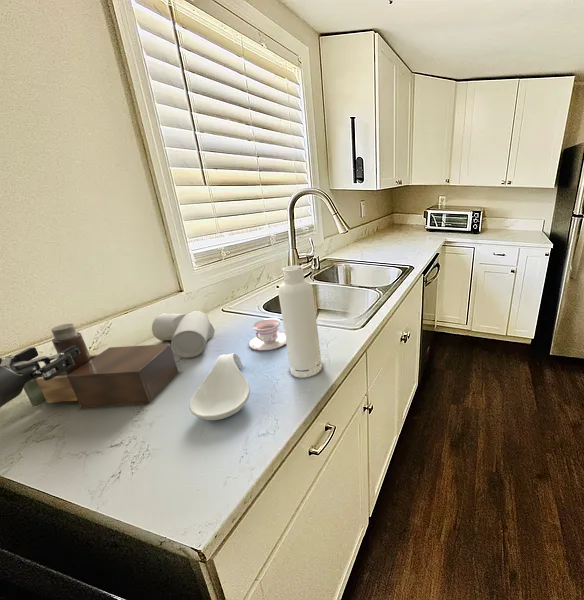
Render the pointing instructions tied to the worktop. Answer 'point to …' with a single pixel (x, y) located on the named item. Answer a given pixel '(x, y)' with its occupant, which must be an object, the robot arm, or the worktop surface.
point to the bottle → (299, 322)
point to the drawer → (50, 389)
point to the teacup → (267, 335)
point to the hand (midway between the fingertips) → (56, 349)
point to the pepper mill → (70, 344)
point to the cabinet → (124, 376)
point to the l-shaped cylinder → (184, 332)
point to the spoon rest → (221, 390)
